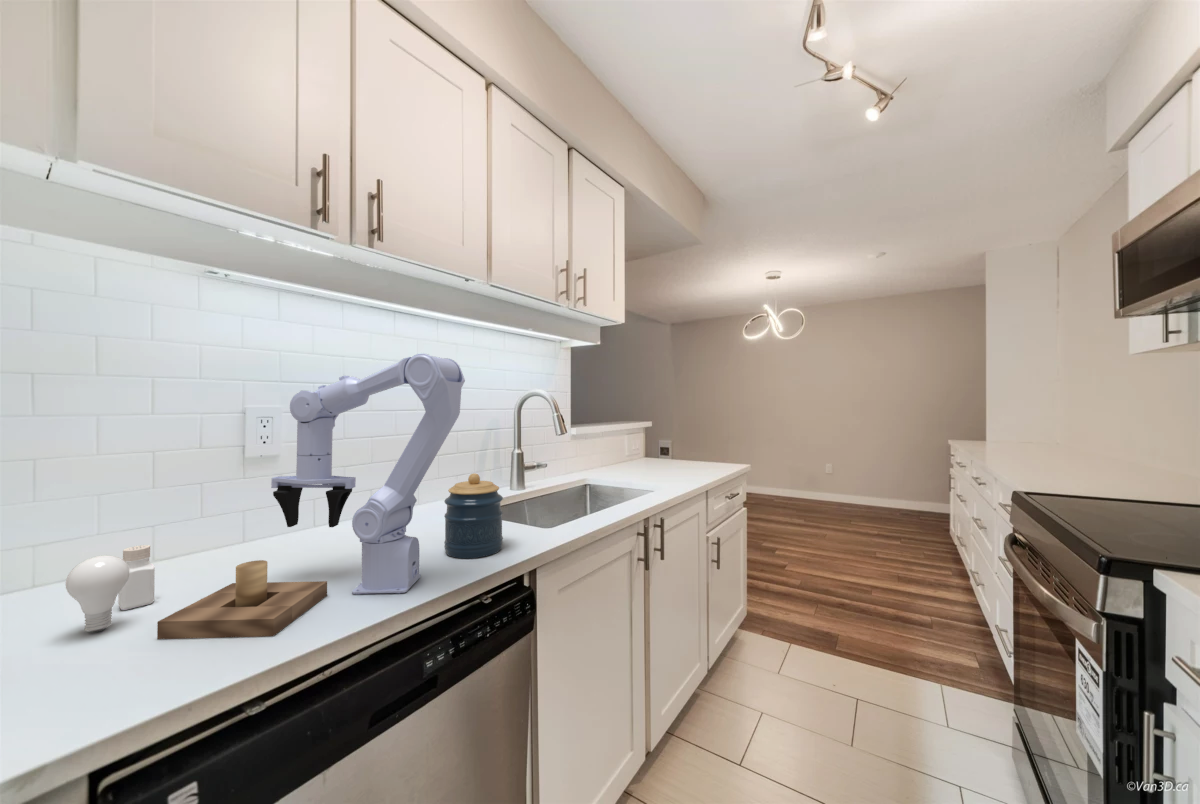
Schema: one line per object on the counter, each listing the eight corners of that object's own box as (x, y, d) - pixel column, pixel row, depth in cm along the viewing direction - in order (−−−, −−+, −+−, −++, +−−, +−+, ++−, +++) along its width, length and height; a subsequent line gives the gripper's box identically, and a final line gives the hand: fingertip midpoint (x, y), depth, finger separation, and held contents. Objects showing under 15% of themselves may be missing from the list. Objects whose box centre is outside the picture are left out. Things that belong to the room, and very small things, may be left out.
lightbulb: (61, 633, 66) (62, 558, 66) (123, 616, 71) (124, 547, 71) (69, 646, 62) (69, 566, 62) (134, 627, 68) (134, 554, 68)
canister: (466, 539, 112) (466, 468, 112) (513, 544, 108) (513, 470, 108) (431, 556, 100) (432, 476, 100) (482, 562, 96) (482, 479, 96)
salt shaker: (151, 597, 78) (151, 542, 79) (154, 603, 76) (155, 547, 76) (117, 605, 75) (118, 548, 75) (120, 612, 73) (120, 553, 73)
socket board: (327, 595, 79) (327, 581, 79) (273, 636, 65) (273, 618, 65) (232, 597, 78) (232, 583, 78) (157, 639, 64) (157, 621, 64)
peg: (272, 608, 74) (272, 559, 74) (258, 619, 70) (258, 568, 70) (244, 610, 73) (245, 561, 74) (229, 621, 70) (229, 569, 70)
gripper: (363, 452, 90) (362, 520, 90) (288, 451, 90) (287, 520, 90) (345, 456, 83) (343, 530, 83) (264, 455, 83) (262, 530, 83)
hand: (313, 525), depth 86 cm, fingers open, 7 cm apart
